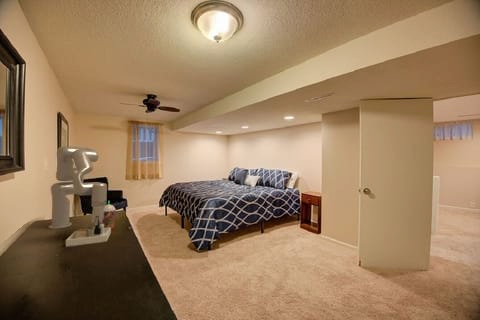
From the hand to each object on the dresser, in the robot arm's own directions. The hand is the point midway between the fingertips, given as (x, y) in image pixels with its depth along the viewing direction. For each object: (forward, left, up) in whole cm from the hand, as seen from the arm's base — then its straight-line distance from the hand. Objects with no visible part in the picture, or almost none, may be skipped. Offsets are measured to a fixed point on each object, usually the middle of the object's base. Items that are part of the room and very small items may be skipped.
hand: (98, 232), depth 123 cm
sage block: (0, 0, -1) cm, 1 cm away
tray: (0, -4, -3) cm, 5 cm away
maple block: (0, -8, -3) cm, 8 cm away
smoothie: (-16, +3, -4) cm, 17 cm away
